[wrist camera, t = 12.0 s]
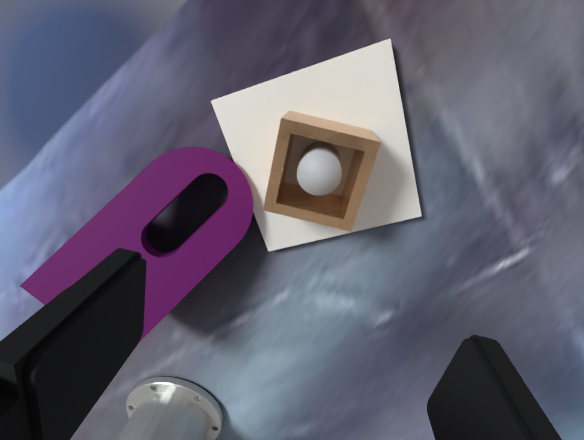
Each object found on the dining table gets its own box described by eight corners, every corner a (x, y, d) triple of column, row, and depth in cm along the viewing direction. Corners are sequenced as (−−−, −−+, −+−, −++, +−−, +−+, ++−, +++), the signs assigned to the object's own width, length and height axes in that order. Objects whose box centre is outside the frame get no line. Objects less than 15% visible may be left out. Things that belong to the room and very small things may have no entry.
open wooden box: (371, 130, 26) (381, 142, 21) (347, 206, 28) (351, 231, 24) (289, 110, 26) (280, 117, 21) (273, 188, 28) (262, 210, 24)
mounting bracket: (199, 137, 34) (68, 260, 33) (194, 122, 26) (19, 285, 24) (262, 201, 36) (142, 320, 35) (276, 206, 28) (119, 361, 27)
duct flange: (418, 211, 29) (435, 237, 24) (270, 246, 32) (260, 275, 27) (387, 39, 24) (402, 31, 19) (214, 100, 27) (191, 105, 22)
